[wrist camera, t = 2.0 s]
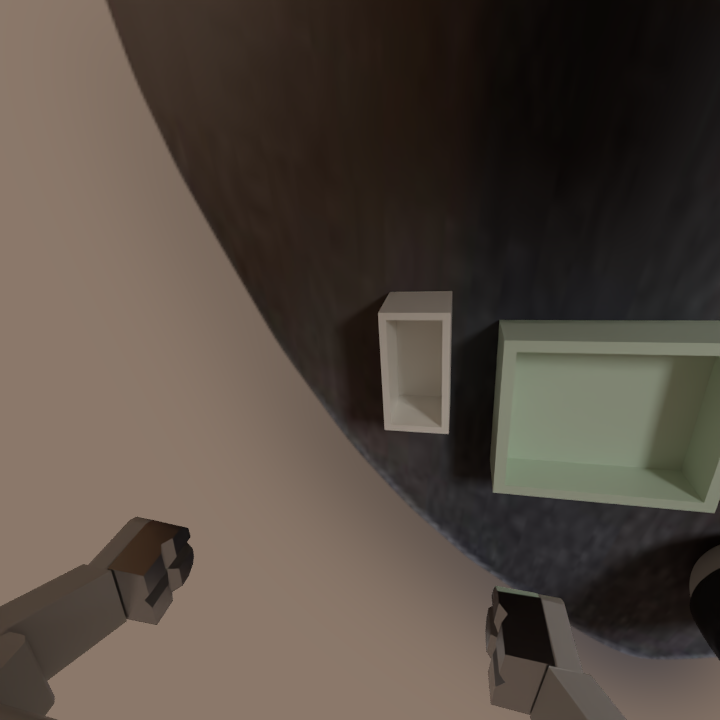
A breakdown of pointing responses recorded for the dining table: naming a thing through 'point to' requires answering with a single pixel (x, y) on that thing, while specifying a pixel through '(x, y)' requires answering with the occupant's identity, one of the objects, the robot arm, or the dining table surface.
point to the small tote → (416, 360)
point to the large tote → (608, 412)
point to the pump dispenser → (707, 597)
